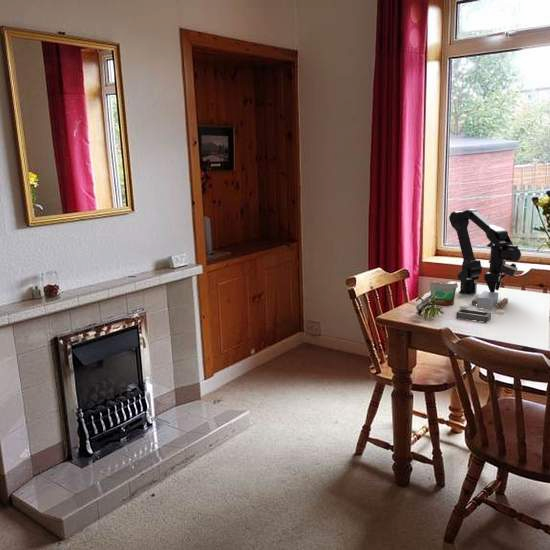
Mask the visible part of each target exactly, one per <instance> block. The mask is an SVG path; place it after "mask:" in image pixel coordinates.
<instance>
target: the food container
mask: <svg viewBox="0 0 550 550" xmlns="http://www.w3.org/2000/svg"><path fill="white" fill-rule="evenodd" d="M428 286H429V288H430V295H433V294H434V293H435V296H437V298H438V301H436V300H435V304H434V306H436V304H437V307H451V306H454V303H455V297H456V291H457V288H458V287H459V286H458V282H455V283H448V282H433V281H431V280H430V281H429V283H428ZM435 296H434V298H435ZM434 298H433V299H434Z"/></svg>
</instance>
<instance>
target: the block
mask: <svg viewBox="0 0 550 550" xmlns="http://www.w3.org/2000/svg"><path fill="white" fill-rule="evenodd" d="M477 296H478V295H477ZM477 296H476V297H477ZM498 303H499V292H497V291H495V292H490V291H487V290H485V291H483V292H481V293H480V294H479V296H478V297H477V305H475V306H476V309H479V308H483V309H482V310H487V309H489V310H488V311H491V309H492V308H493V307H494V306H495V305H496V304H497V305H498ZM497 305H496V306H497ZM496 306H495V307H496ZM493 309H494V308H493ZM493 309H492V310H493Z"/></svg>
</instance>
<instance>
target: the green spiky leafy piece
mask: <svg viewBox="0 0 550 550" xmlns="http://www.w3.org/2000/svg"><path fill="white" fill-rule="evenodd" d="M434 296H435V293H434V294H433V295H431V294H430V295H428V296H426V297H425V298H424V299H422V298H423V297H424V294H421V295H419V296H418V297H417V298H416V300H415V301H416V302H418V301H420V300H421V301H420V303H419V304H417V305H415V309H416V313H415V314H416V315H417V316H421V315H422V313H423V320H424V321H427V318H428V319H429V320H430V319H432V318H435V317H436V316H437V317H438V318H440V316H439V313H440V314H444V312H443V307H444V306H439V307H438V306H437V304H436V305H434V304H435V300H436V301H438V298H437V296H435V298H434ZM433 298H434V299H433Z"/></svg>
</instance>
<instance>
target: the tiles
mask: <svg viewBox="0 0 550 550" xmlns="http://www.w3.org/2000/svg"><path fill="white" fill-rule="evenodd" d="M459 308H461V309H467V308H468V309H469V308H470V305H466V304H461V305H459ZM495 314H496V315H502V314H503V315H505V314H506V310H504V309H497V310H496V311H495Z"/></svg>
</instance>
